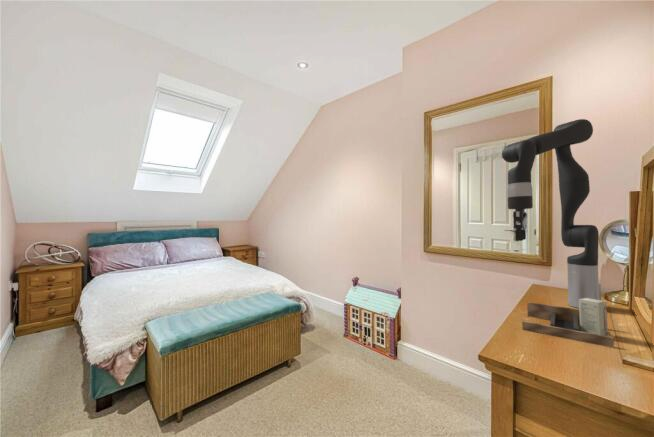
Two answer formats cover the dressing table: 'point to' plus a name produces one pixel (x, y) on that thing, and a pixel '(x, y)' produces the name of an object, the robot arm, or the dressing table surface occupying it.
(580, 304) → the skincare box
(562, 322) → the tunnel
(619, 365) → the dressing table surface
